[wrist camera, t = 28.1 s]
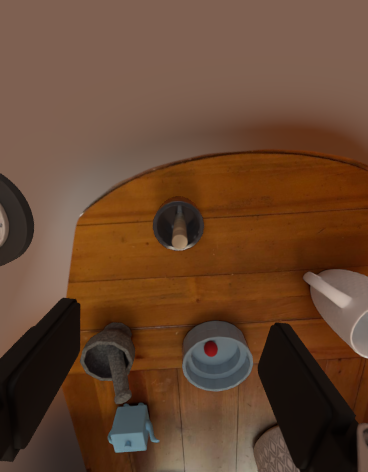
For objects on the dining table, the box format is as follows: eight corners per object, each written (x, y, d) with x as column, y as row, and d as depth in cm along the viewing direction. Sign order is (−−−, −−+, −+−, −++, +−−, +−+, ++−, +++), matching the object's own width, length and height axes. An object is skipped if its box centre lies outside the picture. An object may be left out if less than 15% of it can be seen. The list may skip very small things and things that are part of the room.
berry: (205, 360, 43) (204, 354, 41) (203, 345, 45) (202, 339, 43) (219, 357, 43) (219, 352, 41) (216, 343, 45) (216, 337, 43)
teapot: (160, 399, 50) (157, 437, 43) (163, 416, 52) (160, 455, 45) (112, 403, 50) (101, 441, 43) (117, 420, 52) (106, 459, 45)
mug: (273, 284, 41) (314, 332, 29) (308, 240, 39) (370, 271, 26) (328, 314, 44) (387, 370, 31) (364, 275, 41) (446, 319, 28)
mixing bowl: (178, 366, 47) (178, 387, 42) (187, 315, 43) (188, 333, 38) (237, 372, 48) (243, 394, 43) (251, 323, 44) (260, 341, 39)
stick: (174, 221, 37) (171, 248, 23) (175, 211, 36) (172, 233, 23) (184, 222, 37) (186, 250, 23) (185, 213, 36) (188, 235, 23)
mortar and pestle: (86, 336, 44) (54, 393, 33) (109, 307, 42) (83, 357, 31) (129, 360, 46) (113, 421, 35) (153, 334, 44) (144, 390, 33)
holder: (155, 234, 38) (150, 247, 31) (160, 193, 35) (155, 197, 29) (195, 240, 38) (199, 253, 31) (202, 199, 36) (208, 205, 29)
